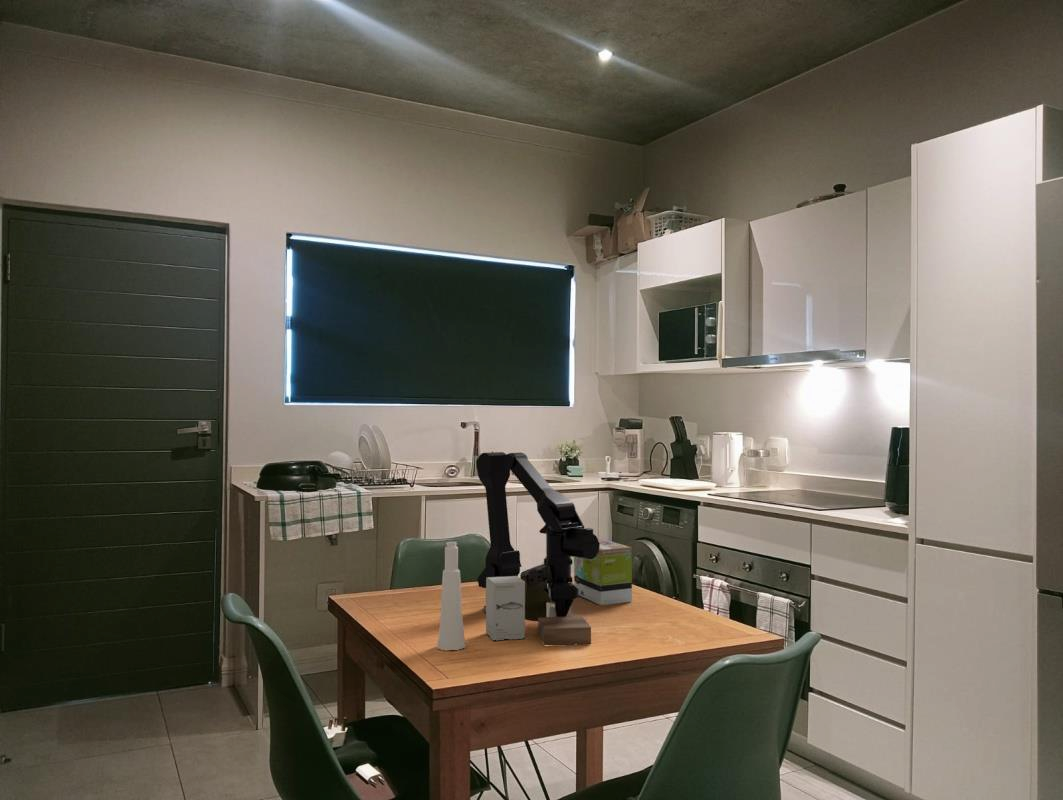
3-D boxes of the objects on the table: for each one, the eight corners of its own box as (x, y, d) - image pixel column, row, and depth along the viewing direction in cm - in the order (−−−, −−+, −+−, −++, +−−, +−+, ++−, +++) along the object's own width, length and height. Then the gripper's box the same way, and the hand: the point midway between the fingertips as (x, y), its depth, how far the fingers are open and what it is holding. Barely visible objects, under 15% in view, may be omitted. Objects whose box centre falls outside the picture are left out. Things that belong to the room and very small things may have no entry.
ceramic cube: (546, 623, 192) (546, 602, 192) (567, 623, 193) (567, 601, 193) (549, 629, 187) (549, 607, 187) (571, 628, 188) (570, 606, 188)
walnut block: (538, 635, 183) (538, 617, 183) (582, 633, 184) (582, 616, 185) (544, 648, 173) (544, 628, 173) (591, 646, 175) (591, 627, 175)
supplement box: (492, 641, 177) (492, 583, 177) (485, 633, 184) (485, 576, 184) (525, 639, 179) (525, 581, 179) (517, 631, 186) (517, 574, 186)
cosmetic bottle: (471, 647, 172) (471, 542, 173) (448, 653, 168) (448, 545, 169) (453, 641, 177) (454, 539, 177) (431, 647, 172) (431, 542, 173)
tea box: (572, 594, 224) (572, 540, 225) (604, 591, 228) (604, 538, 229) (600, 606, 211) (599, 548, 211) (633, 602, 215) (633, 545, 215)
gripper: (520, 548, 199) (520, 613, 198) (528, 561, 180) (528, 633, 180) (565, 547, 200) (565, 612, 200) (578, 560, 181) (578, 631, 181)
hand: (558, 621), depth 190 cm, fingers closed on ceramic cube, 5 cm apart
